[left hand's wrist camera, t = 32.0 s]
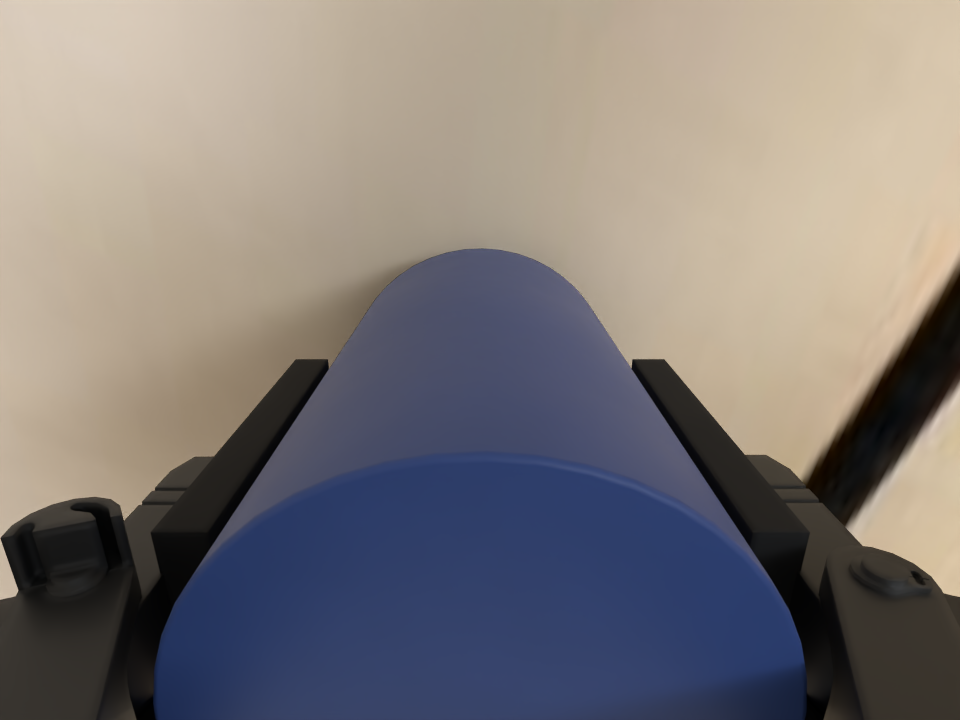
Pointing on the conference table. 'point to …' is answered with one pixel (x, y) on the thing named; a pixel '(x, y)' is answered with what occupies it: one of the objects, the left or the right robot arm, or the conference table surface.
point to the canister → (480, 536)
